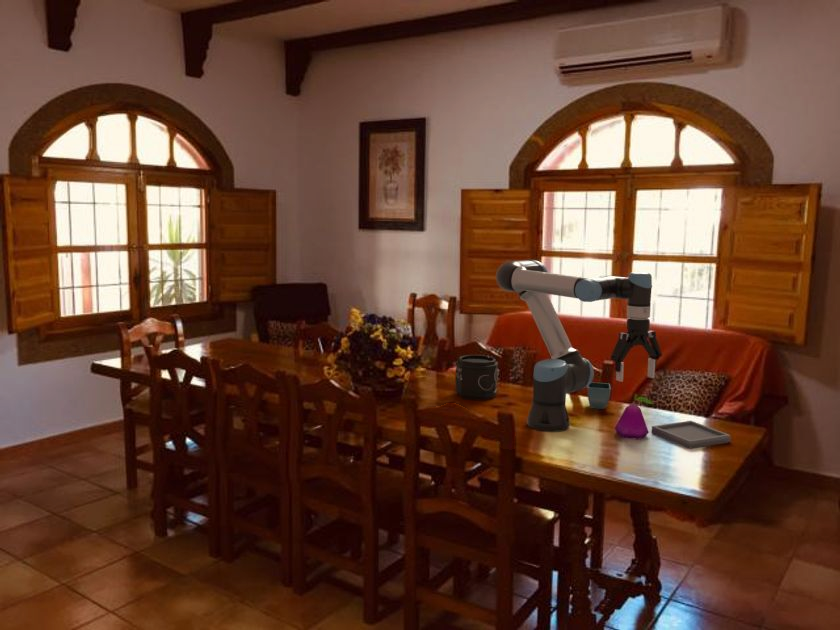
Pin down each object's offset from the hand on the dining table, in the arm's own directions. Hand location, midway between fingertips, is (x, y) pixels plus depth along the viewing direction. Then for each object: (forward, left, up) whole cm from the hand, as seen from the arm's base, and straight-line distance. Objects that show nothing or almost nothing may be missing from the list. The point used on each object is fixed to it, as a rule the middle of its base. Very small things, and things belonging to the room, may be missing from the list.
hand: (635, 379), depth 248 cm
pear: (0, 0, -20) cm, 20 cm away
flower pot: (+11, +33, -20) cm, 40 cm away
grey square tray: (+17, -10, -20) cm, 28 cm away
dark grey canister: (-25, +67, -20) cm, 75 cm away
